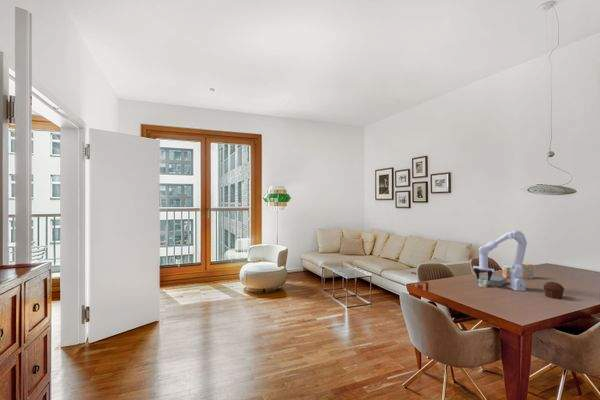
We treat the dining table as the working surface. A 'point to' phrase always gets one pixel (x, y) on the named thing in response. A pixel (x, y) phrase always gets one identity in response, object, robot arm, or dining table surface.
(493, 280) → the base block
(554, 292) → the muffin
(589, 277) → the dining table surface
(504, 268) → the stack of blocks
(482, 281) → the sage cube
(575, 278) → the dining table surface
